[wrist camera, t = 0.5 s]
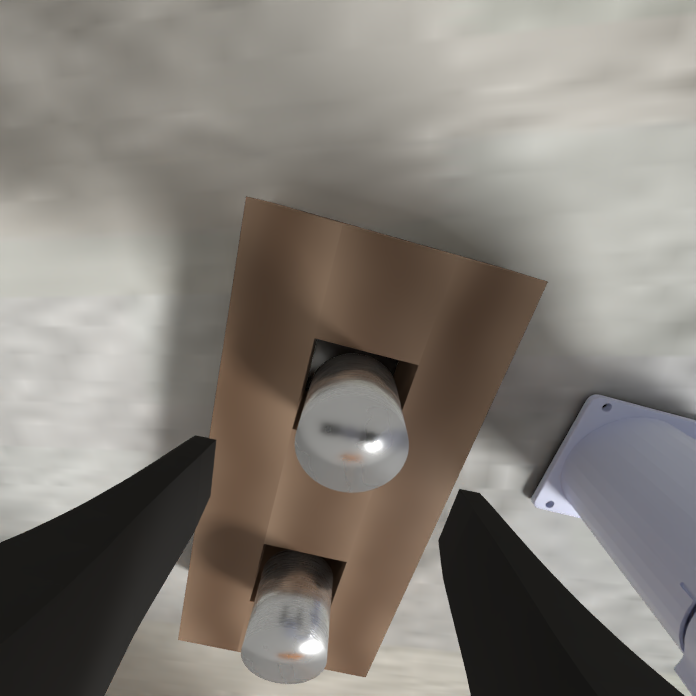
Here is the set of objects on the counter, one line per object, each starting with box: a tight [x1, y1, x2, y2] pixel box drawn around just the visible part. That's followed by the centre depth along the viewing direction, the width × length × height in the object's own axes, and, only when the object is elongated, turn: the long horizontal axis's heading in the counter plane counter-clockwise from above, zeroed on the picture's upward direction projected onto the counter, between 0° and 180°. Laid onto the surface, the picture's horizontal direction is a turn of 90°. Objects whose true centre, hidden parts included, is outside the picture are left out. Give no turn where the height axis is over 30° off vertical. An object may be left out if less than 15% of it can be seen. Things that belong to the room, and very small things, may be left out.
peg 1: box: [241, 550, 333, 684], centre depth 18 cm, size 4×4×4 cm
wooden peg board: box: [178, 197, 548, 677], centre depth 20 cm, size 12×26×4 cm, turn 165°
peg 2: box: [295, 353, 409, 493], centre depth 14 cm, size 4×4×4 cm
